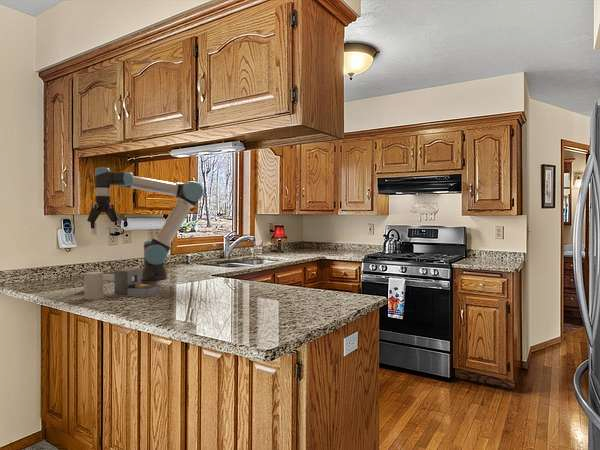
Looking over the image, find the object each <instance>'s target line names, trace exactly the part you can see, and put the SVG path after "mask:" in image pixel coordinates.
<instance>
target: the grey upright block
mask: <svg viewBox="0 0 600 450" xmlns="http://www.w3.org/2000/svg"><path fill="white" fill-rule="evenodd" d="M85 272H86V271H85ZM103 274H104V272H103V271H98V272H86V273H84V272H83V278H84V279H83V283H84V284H83V289H84V299H85V300H99V299H102V298H104V280H103Z"/></svg>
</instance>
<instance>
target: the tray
mask: <svg viewBox="0 0 600 450" xmlns="http://www.w3.org/2000/svg"><path fill="white" fill-rule="evenodd" d="M160 293H161V292H160V286H159V285H148V289H132V288H128V296H127V297H129V296H130V297H139V298H141V297H142V298H147V297H152V296H155V295H158V294H160Z"/></svg>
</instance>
